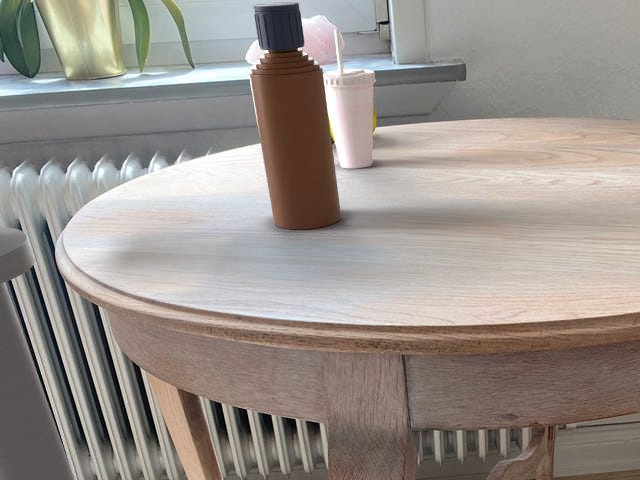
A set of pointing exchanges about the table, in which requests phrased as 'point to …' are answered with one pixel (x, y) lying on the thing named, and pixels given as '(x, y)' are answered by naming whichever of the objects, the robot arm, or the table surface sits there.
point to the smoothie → (351, 111)
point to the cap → (279, 26)
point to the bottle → (295, 139)
